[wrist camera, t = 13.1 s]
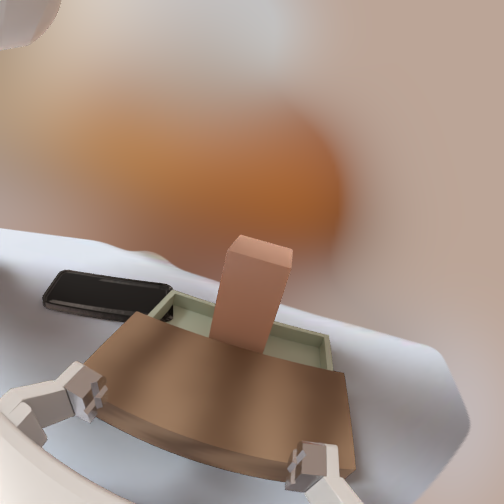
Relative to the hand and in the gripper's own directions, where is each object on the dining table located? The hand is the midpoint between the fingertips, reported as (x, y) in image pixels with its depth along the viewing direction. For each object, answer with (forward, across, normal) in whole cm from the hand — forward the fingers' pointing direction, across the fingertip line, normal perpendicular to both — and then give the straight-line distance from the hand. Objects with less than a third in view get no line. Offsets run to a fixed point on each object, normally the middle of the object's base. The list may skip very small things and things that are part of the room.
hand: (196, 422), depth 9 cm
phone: (+16, +15, +9) cm, 24 cm away
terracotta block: (+16, 0, +8) cm, 18 cm away
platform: (+7, 0, +8) cm, 11 cm away
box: (+16, 0, +8) cm, 18 cm away
